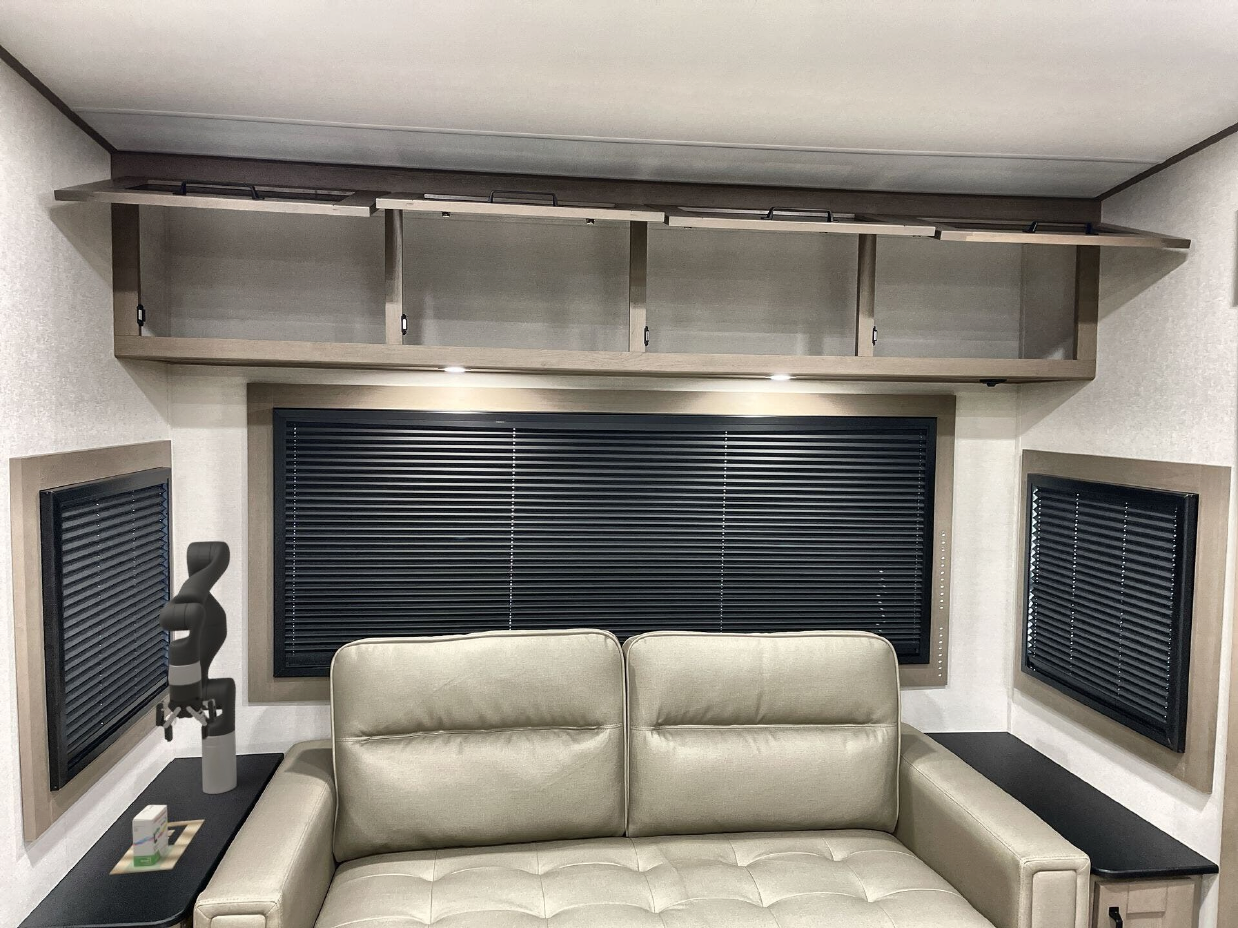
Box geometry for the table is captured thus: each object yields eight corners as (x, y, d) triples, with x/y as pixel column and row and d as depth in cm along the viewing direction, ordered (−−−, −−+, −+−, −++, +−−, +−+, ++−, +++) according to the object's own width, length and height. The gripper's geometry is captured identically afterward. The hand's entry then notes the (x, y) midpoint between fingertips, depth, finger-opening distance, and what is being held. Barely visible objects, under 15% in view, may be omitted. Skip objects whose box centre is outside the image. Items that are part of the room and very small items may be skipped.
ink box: (153, 865, 206) (152, 818, 205) (132, 866, 205) (131, 819, 205) (169, 848, 214) (168, 803, 214) (149, 849, 214) (147, 804, 213)
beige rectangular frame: (149, 825, 228) (149, 823, 228) (204, 820, 231) (204, 818, 231) (109, 874, 202) (109, 872, 202) (171, 868, 205) (171, 867, 205)
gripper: (218, 673, 223) (220, 732, 224) (161, 675, 221) (163, 735, 222) (209, 682, 216) (211, 743, 217) (150, 685, 213) (152, 747, 214)
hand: (187, 739), depth 219 cm, fingers open, 8 cm apart
